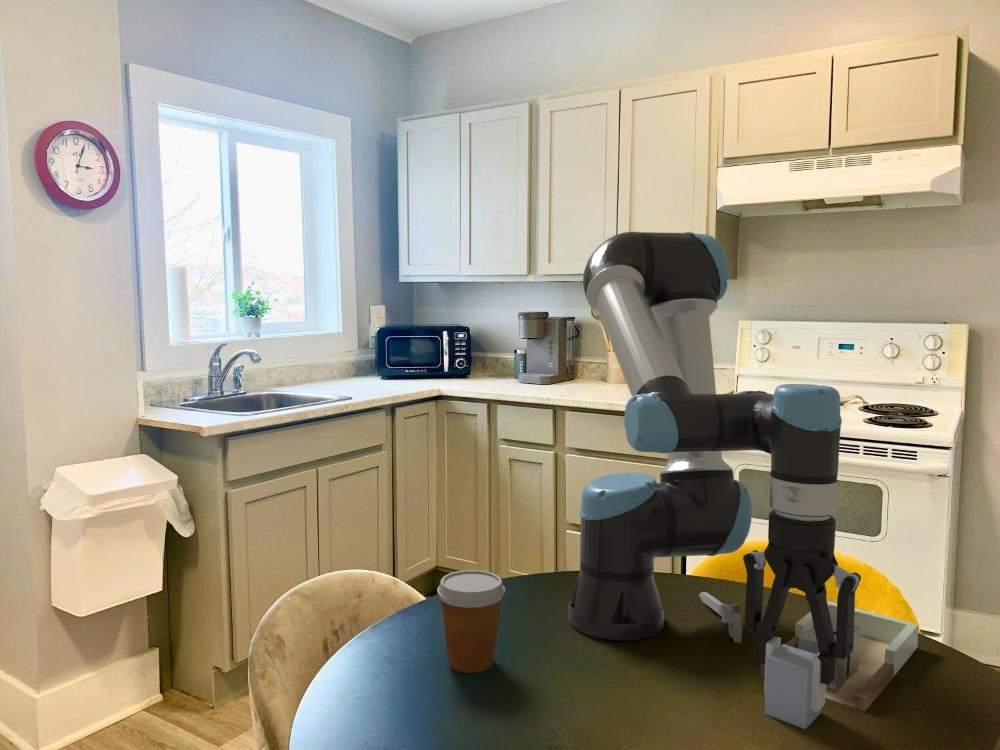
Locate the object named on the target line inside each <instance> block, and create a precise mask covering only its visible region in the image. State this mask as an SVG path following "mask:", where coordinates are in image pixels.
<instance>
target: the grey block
mask: <svg viewBox="0 0 1000 750" xmlns="http://www.w3.org/2000/svg"><path fill="white" fill-rule="evenodd" d="M784 644H785V643H783V644H781V646H780V647H779V648H778V649H776V650H775V651H774V652H773V653H771V654H770V655H769V656H768V657H767V660H766V686H765V685H764V686H765V694H764V713H763V714H764V715H766V716H769V717H772V718H774V719H777V720H780V721H782V722H785V723H788V724H791V725H793V726H795V727H798V728H801V729H804V730H806V729H807V728H809V726H810V725H811V724H812V723H813V722H814V721H815V720H816V719H817V717H818V716H820V714H821V713H822V708H821V709H820V710H819V711H818V712H815V711H812V710H811V694H812V673H813V657H814V656H815V655H816V654H814V653H811V652H807V651H804V650H801V649H797V648H794V647H791V646H788V645H784Z"/></svg>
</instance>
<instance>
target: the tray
mask: <svg viewBox="0 0 1000 750" xmlns="http://www.w3.org/2000/svg"><path fill="white" fill-rule="evenodd" d="M827 604H828V608H829V613H830V618H831V619H833V620H836V621H837V602H833V601H829V600H827ZM854 625H855V626H858V627H860V635H862V636H866V637H869V638H873V639H877V640H880V641H884V642H887V643H890V644H889V645H888V647H887V648H886V649H885V663H888V664H892V665H894V675H895V676H896V675H897V673H898V672H899V671H900V670H901V668H902V667H903V666H904V665H905V663H907V661H908V660H909V659H910V657H911V656H912V655H913V654H914V652H916V650H917V649H918V641H919V624H917V623H913V622H909V621H906V620H902V619H899V618H895V617H891V616H887V615H883V614H880V613H876V612H872V611H869V610H868V611H867V610H863V609H860V608H856V607H855V610H854ZM794 626H795V628H794V632H795V633H794V636H797V637H800V636H801V635H802V634H803V633H805V632H806V631H807V630H808V629H809V628H812V629H813V620H812V615H811V611H810V612H808V613H807V614H806V615H804V616H803V617H802V618H800V619H799V620H798V621H796V622H795V625H794ZM916 648H917V649H916ZM912 653H913V654H912ZM908 658H909V659H908ZM907 659H908V660H907ZM903 664H904V665H903ZM899 669H900V670H899ZM898 670H899V671H898ZM895 676H893V678H894V677H895Z"/></svg>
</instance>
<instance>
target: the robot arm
mask: <svg viewBox="0 0 1000 750" xmlns="http://www.w3.org/2000/svg"><path fill="white" fill-rule="evenodd" d="M726 255H727V254H726V253H725V251H724V248H723V247H722V245H721V243H720V242H719V241H718V240H717V239H716V238H715V237H713V236H712V235H709V234H705V233H695V232H692V231H684V232H647V231H644V232H643V231H624V232H621V233H618V234H615V235H612V236H611V237H609V238H607V239H606V240H605V241H603V242H602V243H600V244H599V245H598V246H597V247H596V248H595V250H594V251H593V252H592V254H591V255H590V256H589V259H588V260H587V262H586V265H585V267H584V270H583V271H584V272H583V277H582V278H583V279H582V284H583V285H582V286H583V291H584V296H585V298H586V301H587V303H588V305H589V306H590V308H591V309H592V310H593V311H594V312H596V313H598V314H599V317H600V319H601V322H602V324H603V326H604V329H605V331H606V332H605V333H606V334H607V337H608V340H609V341H610V344H611V347H612V349H613V352H614V354H615V357H616V360H617V362H618V365H619V367H620V369H621V372H622V374H623V377H624V380H625V382H626V385H627V387H628V390H629V392H630V396H631V397H629V399H628V401H627V403H626V406H625V411H624V421H623V423H624V428H625V437H626V439H627V440H626V441H627V442H628V444H629V445H630V446H631V448H632V449H634V450H635V451H637V452H639V453H640V452H641V453H642V452H643V453H658V454H667V458H668V459H667V463H666V465H665V466H664V467H663V468H662V469H661V471H660V472H659V477H660V478H659V479H660V482H659V483H658V482H657V481H656V479H655V477H654V476H652V475H650V474H647V473H642V472H635V473H631V472H618V473H612V474H606V475H602V476H599V477H596V478H594V479H592V480H591V481H589V482H588V483H586V485H585V486H584V487H583V489H582V493H581V502H580V509H579V516H580V539H579V541H580V546H579V547H580V548H579V549H580V551H579V555H580V557H579V561H580V563H579V564H580V565H579V573H578V577H577V580H576V583H575V585H574V588H573V591H572V593H571V596H570V600H569V603H568V609H567V611H568V612H567V613H568V617H567V618H568V622H569V624H570V625H571V627H573V628H574V629H575V630H577V631H578V632H580V633H582V634H585V635H586V636H590V637H594V638H598V639H602V640H609V641H618V642H621V641H622V642H625V641H626V642H628V641H638V640H643V639H648V638H651V637H653V636H655V635H658V634H659V633H660V632H661V631H662V629H663V627H664V619H665V617H664V615H665V613H664V607H663V605H662V603H661V602H662V601H661V598H660V594H659V591H658V588H657V584H656V581H655V578H654V570H655V569H654V566H655V565H654V563H655V558H670V557H671V558H672V557H674V558H676V557H677V558H678V557H693V556H694V557H696V556H697V557H698V556H708V557H714V556H717V555H725V554H731V553H732V554H733V553H735V552H737V551H738V550H740V549H741V547H742V546H743V545H744V543H745V541H746V539H747V537H748V535H749V533H750V530H751V524H752V516H753V514H752V513H753V512H752V511H753V510H752V508H753V507H752V506H753V505H752V500H751V496H750V494H749V493H748V491H749V490H748V488H747V486H746V485H745V484H744V483H743V482H741V481H739V480H737V479H734V468H732V467H731V466H730V465H729V464H728V463H727V462H726V461H725V460H724V459H723V454H722V452H736V451H738V452H740V451H743V452H744V451H745V452H746V451H759V452H763V453H766V454H769V455H770V483H769V484H770V486H769V506H770V508H771V509H772V510H771V511H770V512H769V514H768V531H767V539H768V540H767V541H768V542H767V546H766V548H765V549H764V550H763V551H759V550H755V549H754V550H752V551H749V552H747V553H746V554H744V555H743V557H742V559H743V563H744V567H745V570H746V582H745V583H746V586H745V604H744V605H745V607H744V608H745V609H744V624H743V627H744V629H745V630H746V631H747V632H749V633H751V632H752V634H755V635H756V636H757V638H758V662H759V664H760V665H761V664H764V665H765V677H764V685H763V686H764V693H763V694H764V695H765V686H766V660H767V657H768V656H769V655H770V654H771V653H773V652H774V651H775V650H776V649H778V648H779V647H780V646H781V645H782V644H781V642H782V638H781V637H778V636H774V635H775V634H777V632H778V631H777V628H778V624H779V621H780V618H781V616H782V612H783V609H784V606H785V604H786V599H787V597H788V593H789V592H790V589H796V590H799V591H800V592H802V593H803V592H804V595H805V600H806V601H807V602H808V605H809V610H810V612H811V615H812V620H813V625H814V629H815V634H816V639H817V644H818V648H819V652H818V653H817V654H816V655H815V656H814V657H813V673H812V694H811V710H812V711H815V712H818V711H819V710H820V709H821V710H822V708H823V707H824V705H826V699H827V698H826V685H830V684H831V683H832V682H833V680H834V678H835V660H836V658H840V659H845V658H846V657H847V656H848V655H849V654H850V653H851V652H852V651H853V643H854V610H855V608H856V606H855V603H856V602H855V601H856V591H857V589H858V587H859V584H860V583H861V580H862V576H861V574H859V573H858V572H856V571H855V572H849V571H848V570H846V569H844V568H842V567H840V566H839V563H838V561H837V559H836V556H835V546H836V545H835V543H836V522H837V521H836V519H835V518H834V517H833V516H832V515H835V514H836V513H837V502H838V501H837V500H838V499H837V498H838V497H837V496H838V473H839V461H840V460H839V459H840V442H841V428H842V423H843V421H842V417H841V395H840V391H838V390H837V389H836V388H834V387H833V386H830V385H819V384H812V383H811V384H809V383H806V384H805V383H786V384H779V385H777V387H776V388H775V389H774V392H773V394H772V393H767V392H766V391H764V390H763V391H762V390H743V391H739V392H737V393H717V389H716V379H715V367H714V357H713V345H712V335H711V324H710V317H711V316H712V314H713V313H714V312H715V311H716V310H717V309H718V301H720V300H721V299H722V298H723V297H724V296H725V294H726V292H727V290H728V283H727V281H728V280H729V278H730V277H729V264H728V259H727V256H726ZM766 565H768V566H769V567H770V569H771V572H772V573H773V574H774V579H773V582H772V585H771V589H770V590H771V592H770V595H769V596H770V597H769V598H768V602H767V605H766V608H765V611H764V614H763V604H764V603H763V601H764V600H763V599H764V583H765V582H764V581H765V579H764V578H765V570H764V569H765V567H766ZM832 577H833V578H834V579H835V587H836V588H837V589H838V592H837V597H836V598H837V599H836V603H837V625H836V641H835V636H834V632H833V627H832V622H831V618H830V613H829V608H828V604H827V601H828V600H827V593H828V591H827V587H826V582H827V581H828V580H829V579H831V578H832Z"/></svg>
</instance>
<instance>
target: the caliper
mask: <svg viewBox="0 0 1000 750" xmlns="http://www.w3.org/2000/svg"><path fill="white" fill-rule="evenodd" d="M698 596H699V598H700V600H701V602H702V603H704V604H705V605H707V606H708V607H709V608H711V610H713V611H714V612H715V613H717V614H718V615H719V616H721V622H722V623H723V624H727V626H728V634H729V636H730V637H731V638H733V642H734V644H742V641H743V637H742V636H743V623H742V620H743V619H742V613H741V610H740V609H741V608H740V604H739V605H738V603H730V605H729V604H725V603H722V602H721V601H720V600H718V599H717V598H715V597H714V596H713V595H711V594H710V593H709V592H706V591H701V592H700V593H699V594H698Z"/></svg>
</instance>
